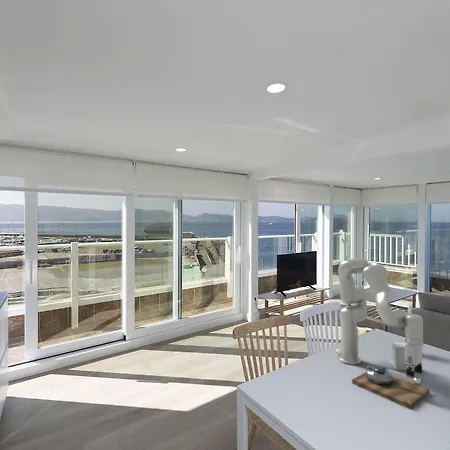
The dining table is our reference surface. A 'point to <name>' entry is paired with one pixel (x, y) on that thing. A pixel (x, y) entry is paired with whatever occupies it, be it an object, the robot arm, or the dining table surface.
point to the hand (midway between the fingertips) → (414, 375)
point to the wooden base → (395, 391)
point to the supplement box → (398, 356)
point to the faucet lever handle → (388, 376)
